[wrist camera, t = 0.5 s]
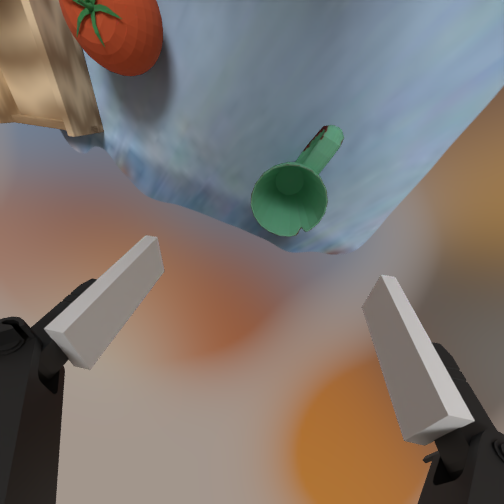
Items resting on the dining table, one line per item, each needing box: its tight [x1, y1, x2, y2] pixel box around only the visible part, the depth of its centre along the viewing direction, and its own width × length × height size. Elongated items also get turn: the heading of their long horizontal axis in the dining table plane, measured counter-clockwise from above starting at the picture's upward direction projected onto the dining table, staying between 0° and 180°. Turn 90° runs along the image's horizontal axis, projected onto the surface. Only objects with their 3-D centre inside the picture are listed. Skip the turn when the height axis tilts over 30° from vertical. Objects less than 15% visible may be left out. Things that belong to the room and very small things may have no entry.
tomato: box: [59, 0, 163, 76], centre depth 24 cm, size 10×10×10 cm
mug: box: [251, 125, 344, 237], centre depth 31 cm, size 15×10×10 cm
